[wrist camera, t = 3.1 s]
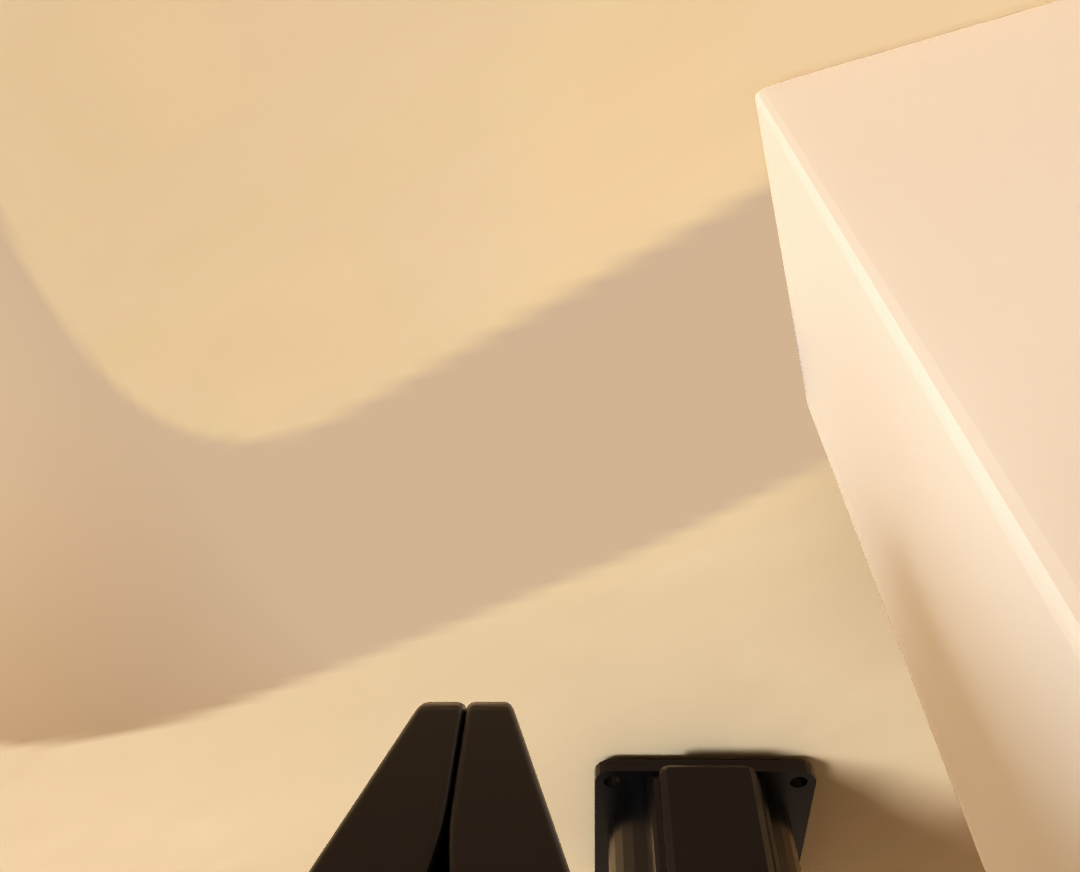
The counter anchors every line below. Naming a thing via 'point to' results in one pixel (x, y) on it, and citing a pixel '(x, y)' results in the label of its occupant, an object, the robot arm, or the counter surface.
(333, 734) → the counter surface
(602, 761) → the robot arm
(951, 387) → the milk carton
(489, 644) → the counter surface
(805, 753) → the counter surface
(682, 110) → the counter surface
